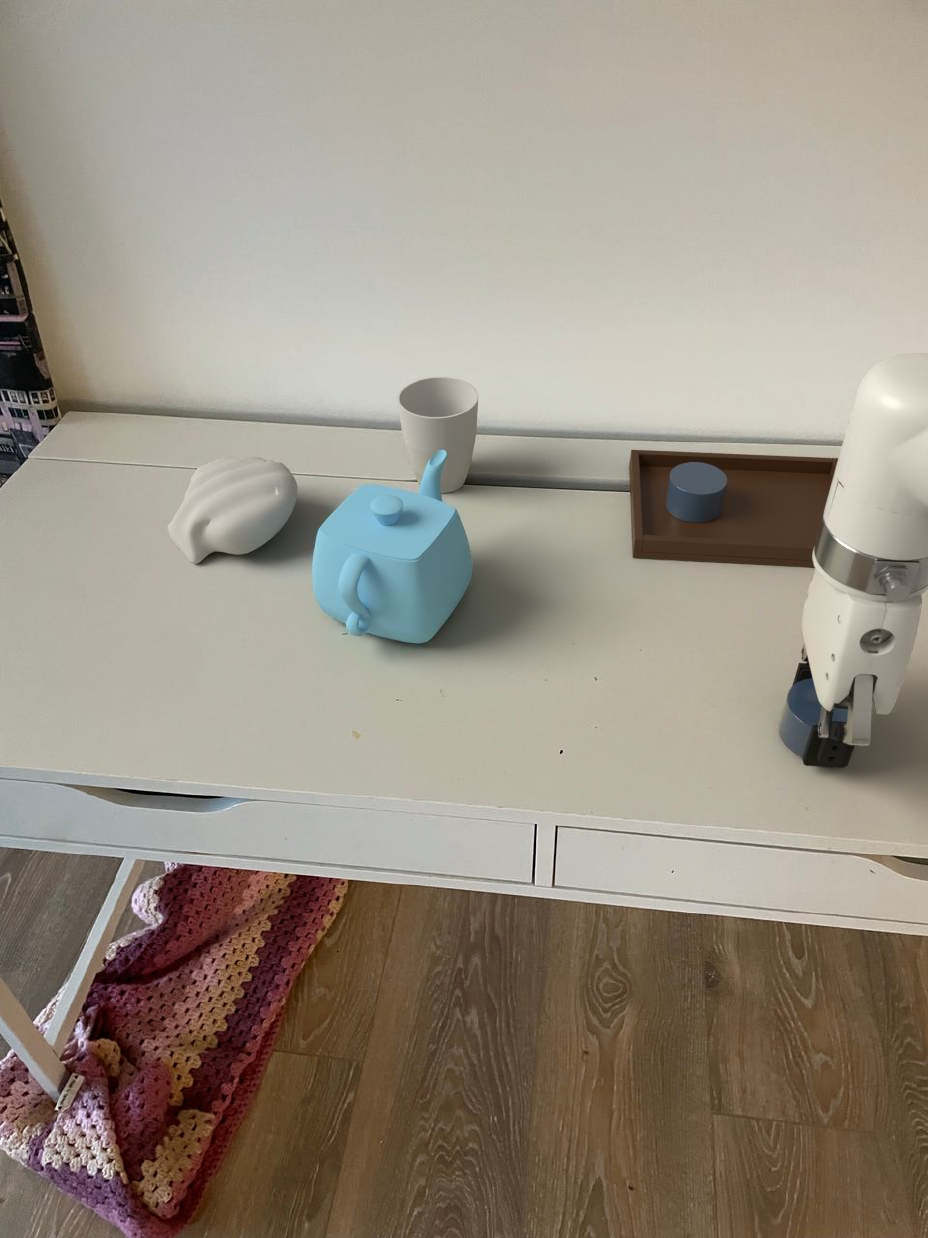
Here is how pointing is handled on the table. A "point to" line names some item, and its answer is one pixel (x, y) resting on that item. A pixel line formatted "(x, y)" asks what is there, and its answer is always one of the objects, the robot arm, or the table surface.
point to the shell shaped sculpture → (233, 507)
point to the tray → (733, 509)
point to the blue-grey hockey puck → (802, 715)
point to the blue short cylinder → (696, 492)
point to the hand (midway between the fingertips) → (817, 730)
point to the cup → (439, 426)
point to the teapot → (393, 560)
